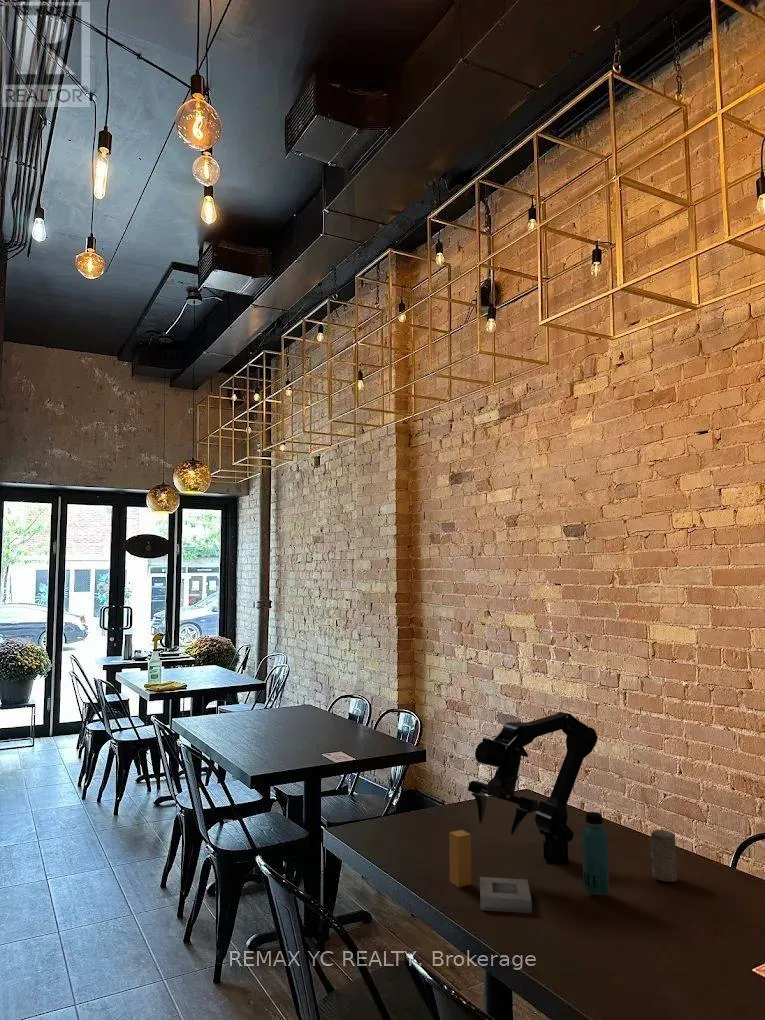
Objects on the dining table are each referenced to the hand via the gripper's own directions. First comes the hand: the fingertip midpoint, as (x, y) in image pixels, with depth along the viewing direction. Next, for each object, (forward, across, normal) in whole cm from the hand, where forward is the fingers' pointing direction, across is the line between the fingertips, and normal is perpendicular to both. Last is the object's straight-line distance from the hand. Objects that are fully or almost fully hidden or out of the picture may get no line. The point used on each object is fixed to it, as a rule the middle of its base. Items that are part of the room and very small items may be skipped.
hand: (496, 828), depth 190 cm
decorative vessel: (+1, +42, +20) cm, 46 cm away
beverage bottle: (+8, +28, +1) cm, 29 cm away
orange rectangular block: (+15, -4, -8) cm, 17 cm away
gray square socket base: (+14, +9, -12) cm, 21 cm away
